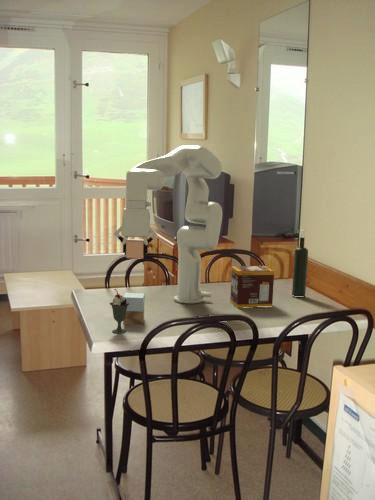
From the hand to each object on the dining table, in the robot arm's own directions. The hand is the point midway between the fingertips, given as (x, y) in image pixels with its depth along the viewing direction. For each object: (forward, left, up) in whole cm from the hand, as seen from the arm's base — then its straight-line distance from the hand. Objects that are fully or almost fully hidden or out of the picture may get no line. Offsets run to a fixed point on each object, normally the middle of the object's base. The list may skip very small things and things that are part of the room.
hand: (135, 254), depth 216 cm
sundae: (+4, +13, -25) cm, 29 cm away
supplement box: (-46, -30, -25) cm, 60 cm away
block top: (0, 0, -20) cm, 20 cm away
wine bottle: (-69, -47, -25) cm, 87 cm away
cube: (0, 0, -1) cm, 1 cm away
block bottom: (0, 0, -25) cm, 25 cm away
